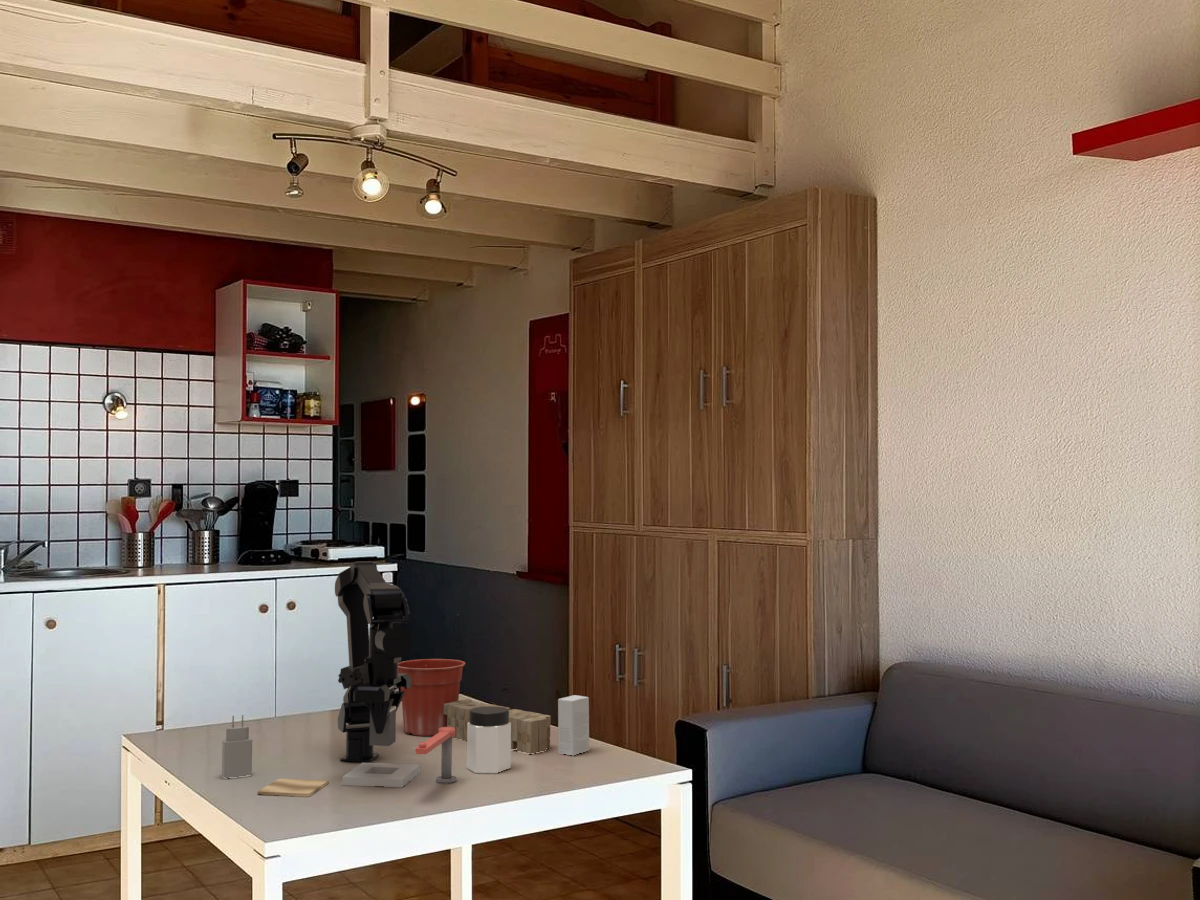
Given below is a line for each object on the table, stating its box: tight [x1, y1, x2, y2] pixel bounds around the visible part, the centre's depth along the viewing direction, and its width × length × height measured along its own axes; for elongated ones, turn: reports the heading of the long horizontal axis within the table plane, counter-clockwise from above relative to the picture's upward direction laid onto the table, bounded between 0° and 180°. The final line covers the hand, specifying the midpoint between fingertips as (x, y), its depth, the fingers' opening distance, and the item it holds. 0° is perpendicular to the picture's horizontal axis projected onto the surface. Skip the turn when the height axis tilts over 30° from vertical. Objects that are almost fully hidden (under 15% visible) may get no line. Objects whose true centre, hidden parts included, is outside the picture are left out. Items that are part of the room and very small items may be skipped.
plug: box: [369, 706, 397, 747], centre depth 223 cm, size 4×4×7 cm
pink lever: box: [415, 727, 455, 755], centre depth 214 cm, size 18×3×2 cm, turn 171°
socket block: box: [341, 737, 458, 788], centre depth 222 cm, size 12×21×9 cm, turn 83°
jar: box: [466, 706, 512, 774], centre depth 231 cm, size 9×8×12 cm
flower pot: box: [398, 658, 466, 737], centre depth 269 cm, size 16×16×16 cm
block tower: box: [443, 698, 552, 754], centre depth 257 cm, size 8×8×29 cm
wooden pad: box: [256, 778, 329, 798], centre depth 214 cm, size 10×10×1 cm
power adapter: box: [221, 714, 253, 778], centre depth 224 cm, size 3×5×12 cm, turn 122°
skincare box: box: [557, 694, 590, 755], centre depth 246 cm, size 6×4×12 cm
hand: (382, 731), depth 223 cm, fingers closed on plug, 4 cm apart
